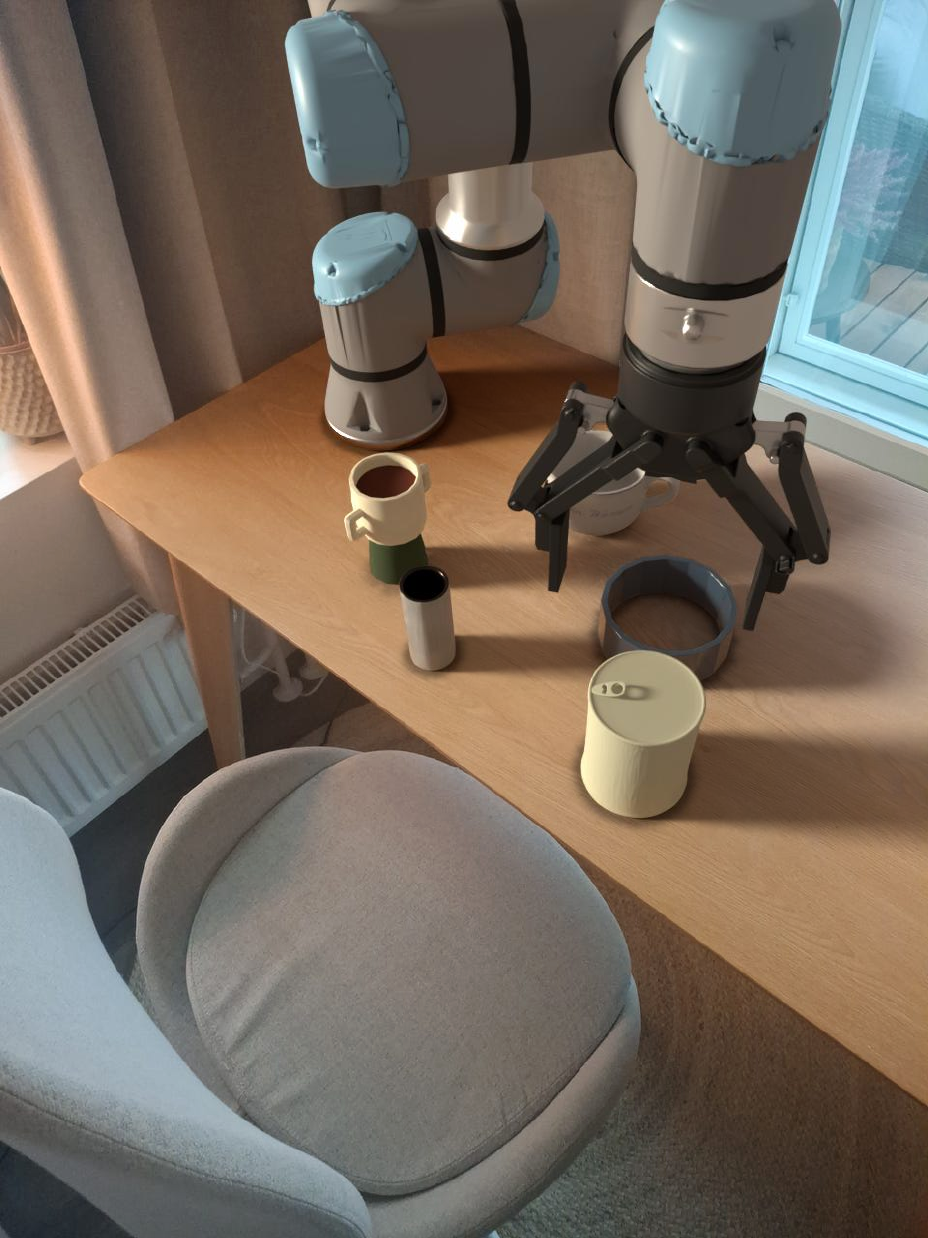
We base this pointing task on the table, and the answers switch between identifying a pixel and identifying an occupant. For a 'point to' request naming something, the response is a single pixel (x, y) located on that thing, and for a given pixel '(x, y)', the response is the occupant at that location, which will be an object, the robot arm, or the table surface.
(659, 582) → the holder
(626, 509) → the teacup
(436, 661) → the planter
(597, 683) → the can
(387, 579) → the character mug
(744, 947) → the table surface
